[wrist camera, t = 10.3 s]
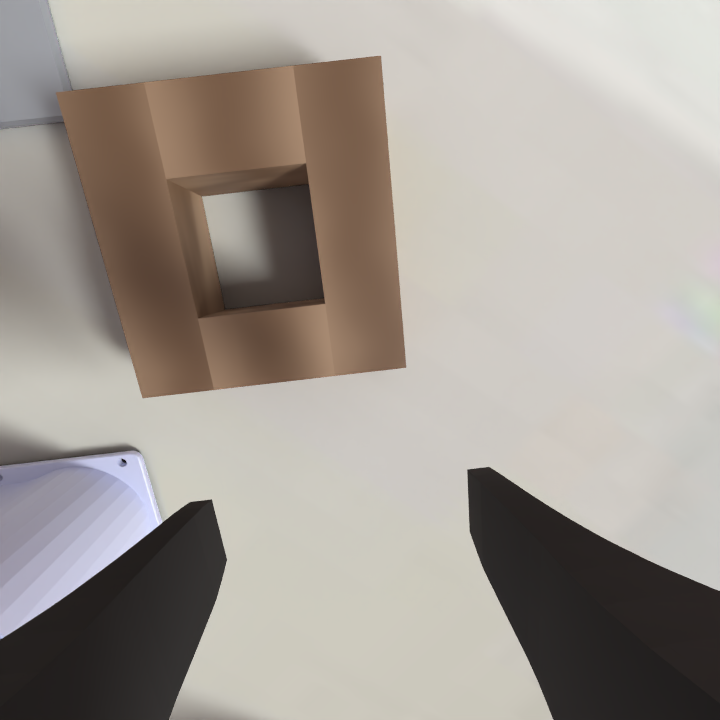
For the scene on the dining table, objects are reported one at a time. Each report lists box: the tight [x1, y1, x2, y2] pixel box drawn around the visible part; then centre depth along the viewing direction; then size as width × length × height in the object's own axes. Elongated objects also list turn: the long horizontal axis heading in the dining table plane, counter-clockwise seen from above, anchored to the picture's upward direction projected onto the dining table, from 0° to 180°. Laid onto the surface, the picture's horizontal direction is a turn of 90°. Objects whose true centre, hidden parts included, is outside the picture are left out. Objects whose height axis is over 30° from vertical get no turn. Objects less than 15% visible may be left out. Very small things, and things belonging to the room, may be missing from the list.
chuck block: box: [56, 56, 406, 398], centre depth 16 cm, size 12×12×4 cm
